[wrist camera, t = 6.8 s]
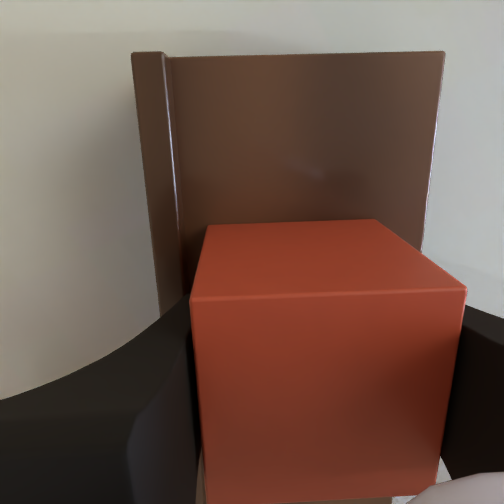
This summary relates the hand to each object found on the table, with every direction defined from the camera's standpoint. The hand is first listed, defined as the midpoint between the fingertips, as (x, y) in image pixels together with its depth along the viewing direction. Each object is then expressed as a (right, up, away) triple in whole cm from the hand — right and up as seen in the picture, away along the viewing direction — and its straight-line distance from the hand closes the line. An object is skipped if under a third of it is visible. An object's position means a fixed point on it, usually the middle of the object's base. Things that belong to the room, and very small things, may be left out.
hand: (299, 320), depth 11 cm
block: (0, 0, +1) cm, 1 cm away
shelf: (0, -1, +6) cm, 6 cm away
